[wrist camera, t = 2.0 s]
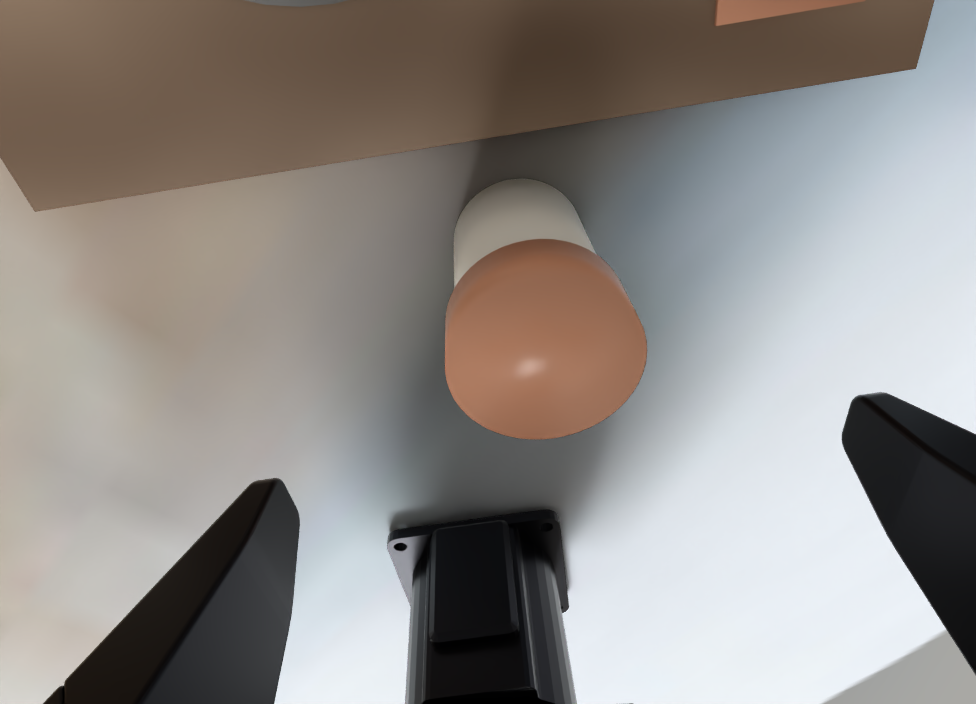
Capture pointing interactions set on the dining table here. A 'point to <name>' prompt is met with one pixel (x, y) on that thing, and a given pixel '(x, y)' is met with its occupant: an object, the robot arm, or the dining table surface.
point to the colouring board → (384, 76)
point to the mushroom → (536, 317)
